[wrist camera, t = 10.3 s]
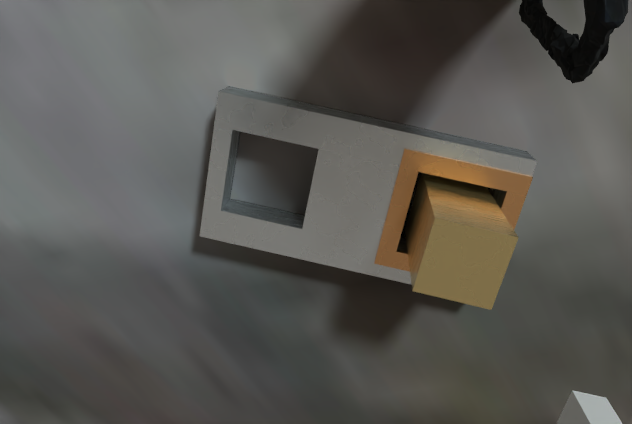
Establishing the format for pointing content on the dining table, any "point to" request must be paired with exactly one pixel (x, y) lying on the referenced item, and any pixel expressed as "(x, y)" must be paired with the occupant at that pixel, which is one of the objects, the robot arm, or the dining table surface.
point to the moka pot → (576, 35)
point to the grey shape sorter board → (347, 182)
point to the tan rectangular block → (457, 241)
